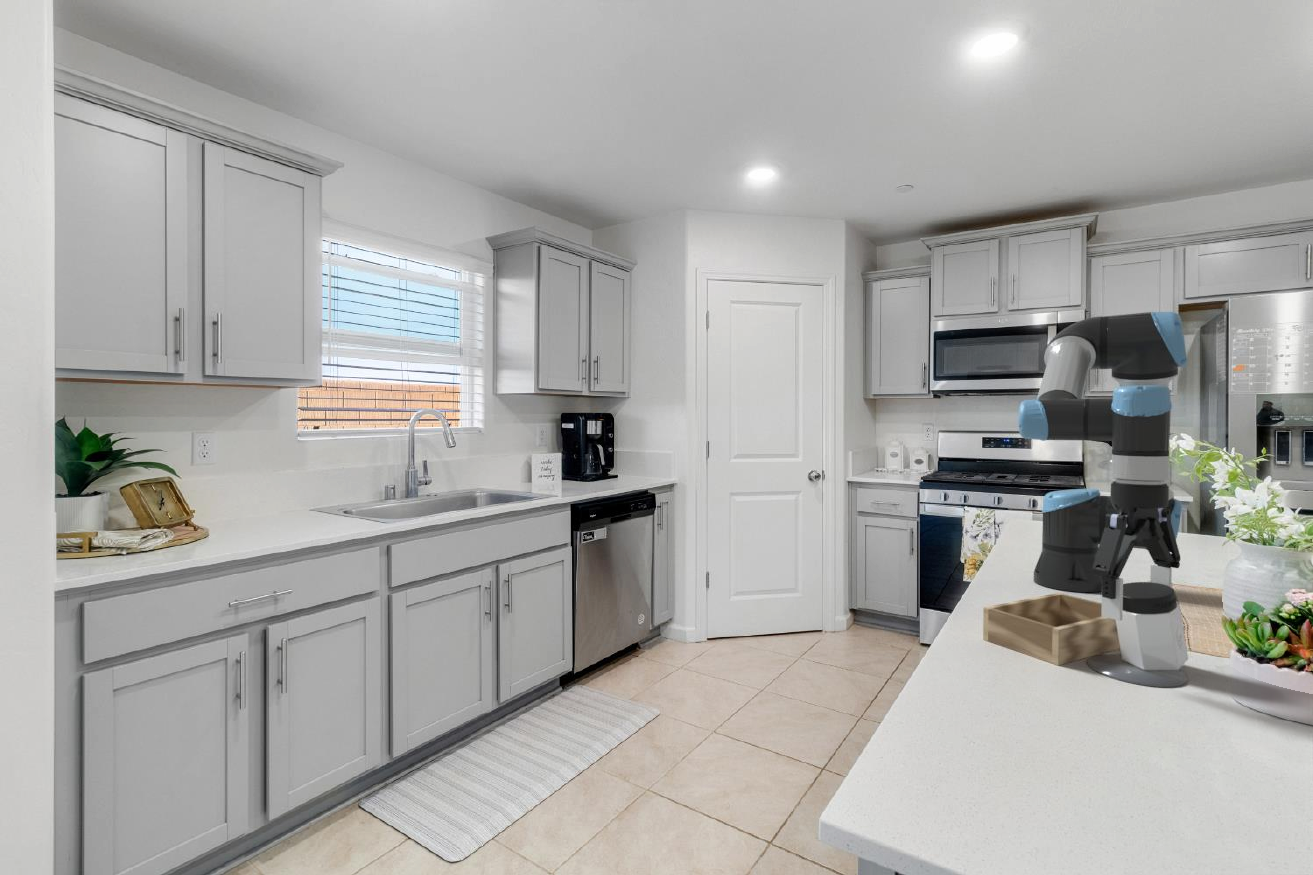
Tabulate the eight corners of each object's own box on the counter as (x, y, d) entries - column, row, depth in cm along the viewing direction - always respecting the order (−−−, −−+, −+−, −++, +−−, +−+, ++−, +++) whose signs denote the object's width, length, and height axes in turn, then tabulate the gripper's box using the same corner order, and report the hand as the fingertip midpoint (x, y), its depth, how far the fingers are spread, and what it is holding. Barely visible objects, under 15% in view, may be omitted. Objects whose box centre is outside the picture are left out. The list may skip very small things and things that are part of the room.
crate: (1058, 622, 131) (1058, 592, 130) (1134, 644, 118) (1135, 611, 118) (983, 639, 121) (983, 607, 121) (1057, 665, 108) (1058, 629, 108)
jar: (1175, 676, 102) (1163, 602, 101) (1115, 665, 108) (1104, 595, 108) (1194, 655, 107) (1183, 584, 106) (1136, 645, 114) (1125, 578, 113)
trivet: (1116, 651, 115) (1116, 649, 115) (1204, 677, 103) (1204, 675, 103) (1070, 663, 109) (1070, 662, 109) (1158, 693, 97) (1158, 691, 97)
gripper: (1156, 474, 114) (1154, 595, 115) (1067, 484, 103) (1065, 616, 104) (1208, 478, 107) (1205, 606, 108) (1118, 489, 96) (1115, 630, 97)
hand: (1136, 611), depth 106 cm, fingers open, 13 cm apart
